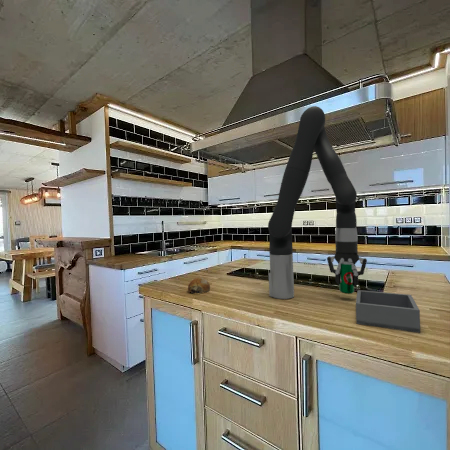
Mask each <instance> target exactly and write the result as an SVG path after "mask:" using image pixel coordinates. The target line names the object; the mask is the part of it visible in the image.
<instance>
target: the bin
mask: <svg viewBox="0 0 450 450" xmlns="http://www.w3.org/2000/svg"><path fill="white" fill-rule="evenodd" d="M356 290H357V289H356ZM420 312H421V311H420V308H419V307H418V304H417V302H416V301H415V299H414V297H413V296H412V294H405V293H395V292H383V291H372V290H360V289H358V290H357V293H356V299H355V319H356V321H355V322H356V324H358V325H363V326H371V327H378V328H384V329H392V330H397V331H399V330H400V331H405V332H413V333H418V334H419V333H420V334H421V313H420Z"/></svg>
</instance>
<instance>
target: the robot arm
mask: <svg viewBox="0 0 450 450" xmlns="http://www.w3.org/2000/svg"><path fill="white" fill-rule="evenodd" d="M325 126H326V115H325V112H324V110H323V109H322V108H321V107H320V106H317V105H315V106H314V105H313V106H310V107H308V108H306V109H305V110H304V111H303V113H302V114H301V116H300V118H299V124H298V128H297V134H296V138H295V142H294V145H293V147H292V150H291V153H290V155H289V158H288V160H287V163H286V166H285V169H284V171H283V175H282V179H281V183H280V188H279V192H278V199H277V202H276V204H275V207H274V210H273V212H272V214H271V216H270V217H269V221H268V224H267V228H268V234H269V236H268V237H269V246H268V247H269V249H268V250H269V273H268V293H269V294H268V295H269V297H271V298H274V299H277V300H286V299H287V300H288V299H292V298H294V297H295V287H294V286H295V284H294V283H295V281H294V257H293V256H294V253H293V231H292V230H293V221H294V215H295V213H296V212H295V211H296V209H297V208H296V207H297V204H298V202H299V200H300V198H301V196H302V193H303V192H304V189H305V186H306V184H307V181H308V177H309V174H310V172H311V171H310V170H311V168H312V167H311V166H312V162H313V161H312V160H313V155H314V152H315V155H316V157H317V160H318V161H319V164H320V167H321V169H322V171H323V174H324V175H325V177H326V180H327V182H328V183H329V185H330V187H331V190H332V192H333V195H334V196H335V207H336V208H335V209H336V215H335V235H334V236H335V254H334V256H328V257H327V258H326V260H327V264H328V267H329V272H330V273H332V274H334V278H335V283H337V285H339V271H340V269H341V263H343V262H344V261H349V263H351V264H352V270H353V272H354V287H356V286H358V285H359V276H363V275H364V274H365V270H366V266H367V263H368V259H367V258H365V257H364V258H363V257H360V256H359V254H358V244H359V243H358V240H359V239H358V227H357V225H358V224H357V214H356V200H357V199H358V198H357V197H358V194H357V193H358V192H357V191H356V188H355V186H354V185H353V182H352V181H351V180H350V178H349V176H348V174H347V171H346V168H345V167H344V164H343V162H342V161H341V159H340V157H339V155H338V153H337V152H336V151H335V149H334V148H333V146H332V144H331V142H330V141H329V138H328V136H327V132H326V128H325ZM334 261H336V263H337V267H336V269H335V268H334ZM358 261H359V264H360V265H361V266H360V267H361V268H360V271H358V269H357V266H356V264H357V262H358Z"/></svg>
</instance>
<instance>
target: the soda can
mask: <svg viewBox="0 0 450 450" xmlns="http://www.w3.org/2000/svg"><path fill="white" fill-rule="evenodd" d="M338 286H339V287H338V288H339V291H340V293H342V294H346V295H349V294H350V295H351V294H353V293H355V286H354V272H353V270H352V264H351V263H349V261H344V262H343V263H341V269H340V271H339V284H338Z"/></svg>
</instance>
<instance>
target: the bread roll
mask: <svg viewBox="0 0 450 450" xmlns="http://www.w3.org/2000/svg"><path fill="white" fill-rule="evenodd" d="M187 286H188V287H187V291H188V293H190V292H191V293H190V294H193V293H201V294H203V293H202V292H206V293H208V292H210V290H211V284H210V282H209V281H208V279H206V278H204V277H200V276H199V277H195V278H194V279H192V280H191V281H190V282H189V283H188V285H187ZM207 291H208V292H207Z"/></svg>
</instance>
